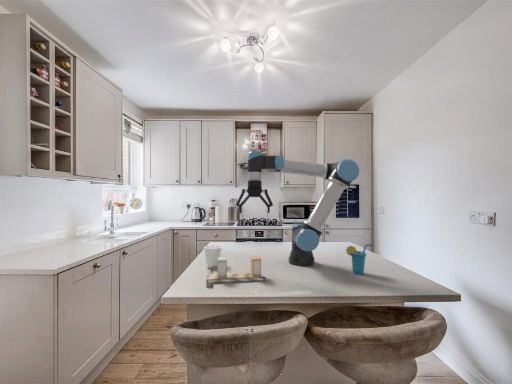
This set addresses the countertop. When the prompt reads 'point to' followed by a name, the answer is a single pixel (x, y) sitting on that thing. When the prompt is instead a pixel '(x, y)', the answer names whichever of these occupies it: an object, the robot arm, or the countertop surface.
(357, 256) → the cup
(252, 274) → the faced carton
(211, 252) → the cup
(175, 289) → the countertop surface
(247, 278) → the wavy tan tray
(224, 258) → the carton
